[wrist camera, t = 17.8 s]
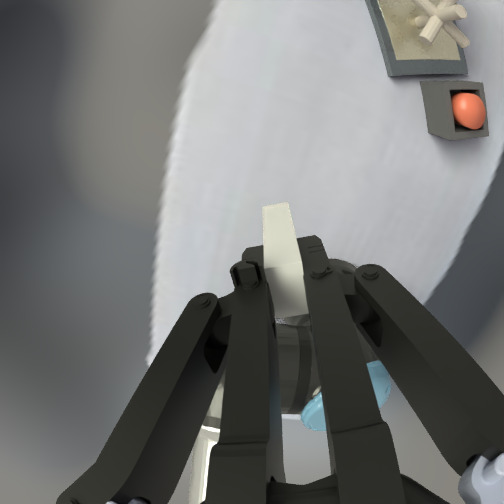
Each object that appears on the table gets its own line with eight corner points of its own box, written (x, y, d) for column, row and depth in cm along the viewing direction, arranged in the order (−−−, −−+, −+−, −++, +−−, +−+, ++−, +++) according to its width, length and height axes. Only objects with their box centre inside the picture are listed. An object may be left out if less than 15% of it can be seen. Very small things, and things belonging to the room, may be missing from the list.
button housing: (465, 128, 33) (488, 136, 28) (428, 132, 34) (450, 140, 29) (458, 80, 29) (482, 82, 24) (419, 81, 31) (442, 82, 26)
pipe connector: (456, 26, 24) (499, 20, 15) (432, 68, 28) (475, 68, 19) (405, -20, 21) (440, -40, 13) (376, 21, 26) (411, 4, 17)
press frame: (462, 73, 29) (572, 90, 10) (388, 76, 31) (499, 78, 12) (428, -33, 20) (516, -70, 1) (348, -40, 22) (413, -114, 3)
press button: (474, 124, 29) (487, 128, 26) (450, 126, 30) (463, 130, 27) (470, 91, 27) (483, 93, 24) (445, 92, 27) (458, 94, 25)
